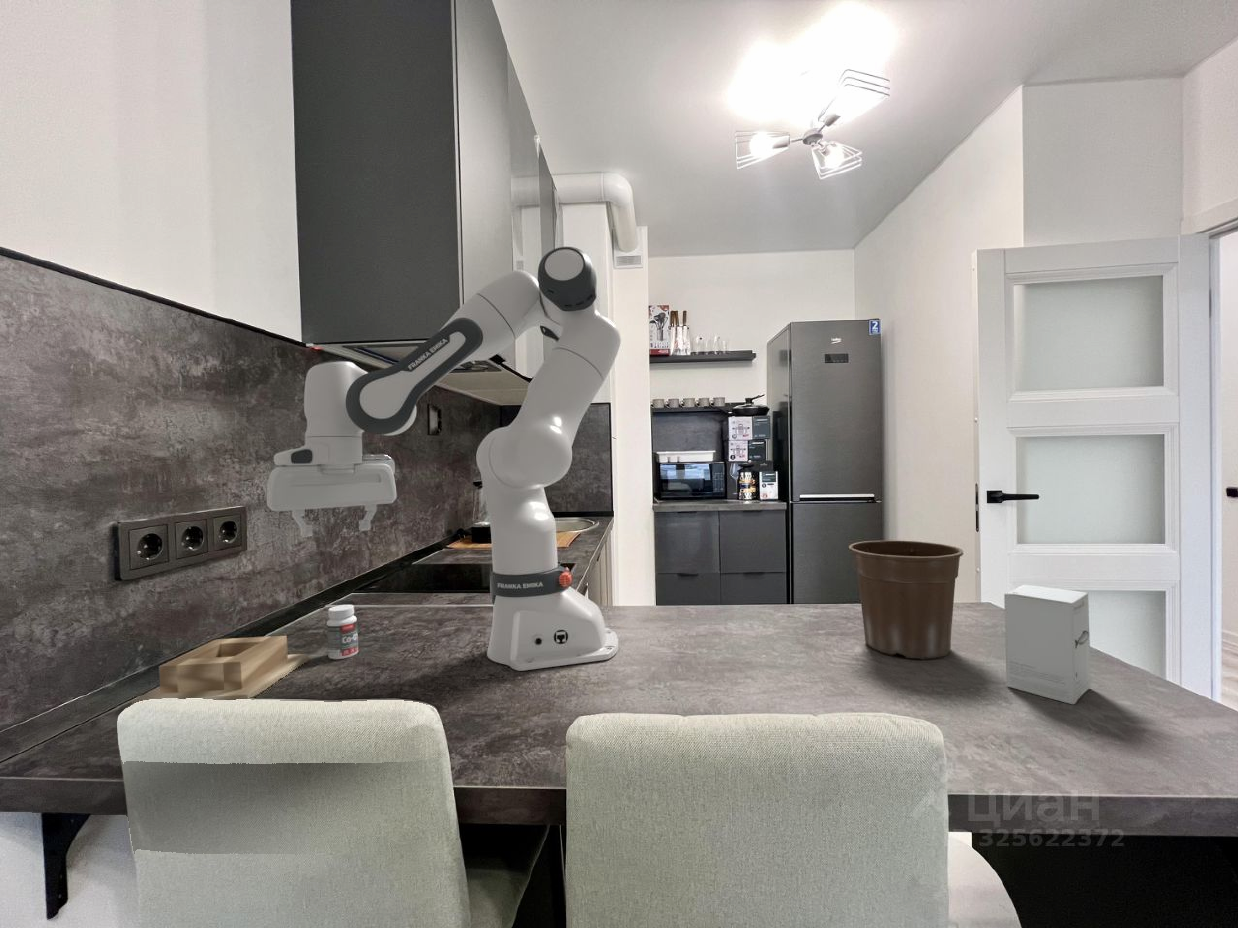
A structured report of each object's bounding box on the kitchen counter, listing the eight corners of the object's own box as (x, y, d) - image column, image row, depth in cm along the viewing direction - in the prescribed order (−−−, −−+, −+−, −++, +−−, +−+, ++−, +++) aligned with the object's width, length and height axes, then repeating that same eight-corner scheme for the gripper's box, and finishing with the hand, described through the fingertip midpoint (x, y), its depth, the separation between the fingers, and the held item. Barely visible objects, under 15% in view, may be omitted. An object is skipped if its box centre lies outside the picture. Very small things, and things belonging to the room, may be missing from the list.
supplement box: (1076, 706, 65) (1072, 602, 65) (1004, 686, 71) (1001, 592, 71) (1093, 688, 70) (1090, 591, 70) (1024, 671, 76) (1021, 582, 76)
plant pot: (906, 625, 97) (903, 536, 97) (992, 655, 82) (988, 549, 82) (831, 638, 92) (828, 544, 92) (908, 672, 77) (904, 560, 77)
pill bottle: (346, 660, 92) (343, 611, 92) (322, 659, 93) (319, 611, 93) (364, 650, 97) (362, 603, 97) (341, 649, 98) (339, 603, 98)
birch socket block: (308, 660, 93) (307, 630, 93) (247, 702, 77) (246, 666, 77) (213, 665, 92) (211, 635, 92) (132, 709, 76) (130, 673, 76)
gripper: (387, 454, 104) (389, 525, 104) (262, 455, 90) (265, 538, 90) (401, 453, 99) (403, 528, 99) (271, 454, 85) (274, 541, 85)
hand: (336, 533), depth 94 cm, fingers open, 8 cm apart
